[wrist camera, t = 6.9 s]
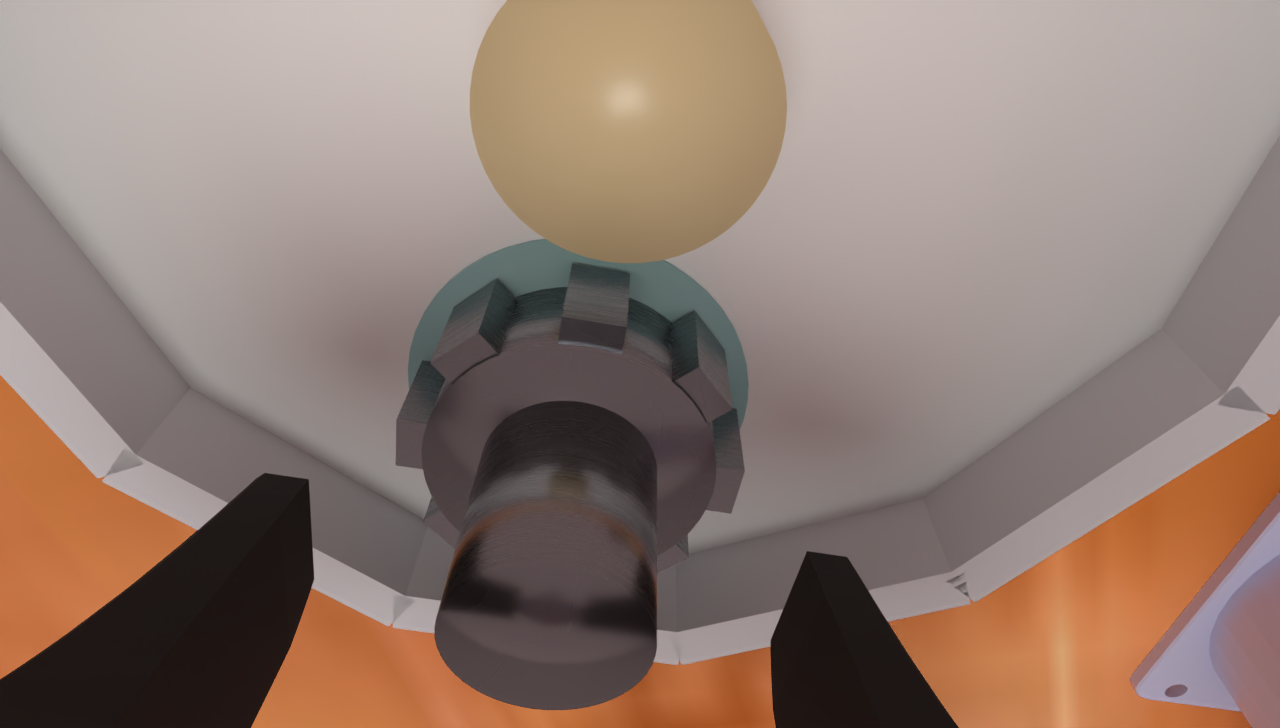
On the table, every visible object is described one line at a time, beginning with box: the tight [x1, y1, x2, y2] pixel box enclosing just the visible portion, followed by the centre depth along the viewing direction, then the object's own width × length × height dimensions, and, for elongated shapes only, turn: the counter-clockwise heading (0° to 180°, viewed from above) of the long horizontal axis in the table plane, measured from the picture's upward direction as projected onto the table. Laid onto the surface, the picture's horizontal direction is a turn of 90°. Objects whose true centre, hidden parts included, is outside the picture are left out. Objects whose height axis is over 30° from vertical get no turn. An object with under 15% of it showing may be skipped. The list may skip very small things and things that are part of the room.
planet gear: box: [396, 264, 745, 710], centre depth 14 cm, size 6×6×6 cm
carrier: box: [0, 0, 1280, 665], centre depth 12 cm, size 23×23×3 cm
